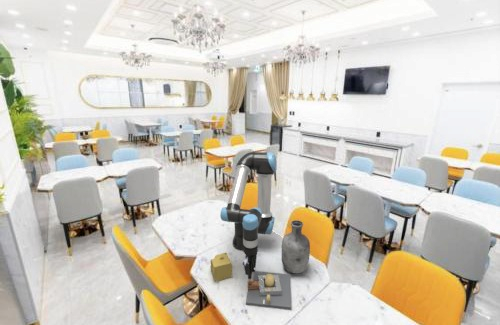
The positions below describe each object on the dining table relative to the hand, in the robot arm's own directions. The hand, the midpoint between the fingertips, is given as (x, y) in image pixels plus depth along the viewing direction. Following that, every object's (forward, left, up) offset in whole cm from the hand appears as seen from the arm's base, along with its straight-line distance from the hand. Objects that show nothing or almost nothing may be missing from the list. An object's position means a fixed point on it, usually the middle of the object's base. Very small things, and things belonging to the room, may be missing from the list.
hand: (250, 282), depth 125 cm
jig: (+1, +10, -3) cm, 11 cm away
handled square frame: (+1, +7, -1) cm, 7 cm away
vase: (-17, +24, -3) cm, 30 cm away
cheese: (-7, -18, -3) cm, 19 cm away
